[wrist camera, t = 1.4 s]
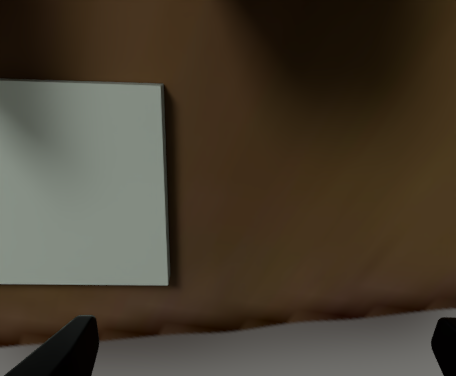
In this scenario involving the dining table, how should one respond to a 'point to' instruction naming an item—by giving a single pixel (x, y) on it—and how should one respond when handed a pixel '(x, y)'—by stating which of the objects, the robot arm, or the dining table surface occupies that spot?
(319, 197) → the dining table surface
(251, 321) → the dining table surface
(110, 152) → the tile
